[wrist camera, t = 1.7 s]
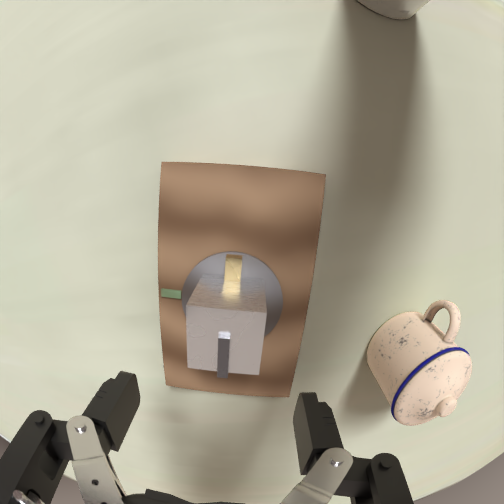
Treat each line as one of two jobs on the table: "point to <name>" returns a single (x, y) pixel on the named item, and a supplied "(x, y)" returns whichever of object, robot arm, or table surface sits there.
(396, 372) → the teacup with lid
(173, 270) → the walnut base
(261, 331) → the white block
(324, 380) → the table surface
